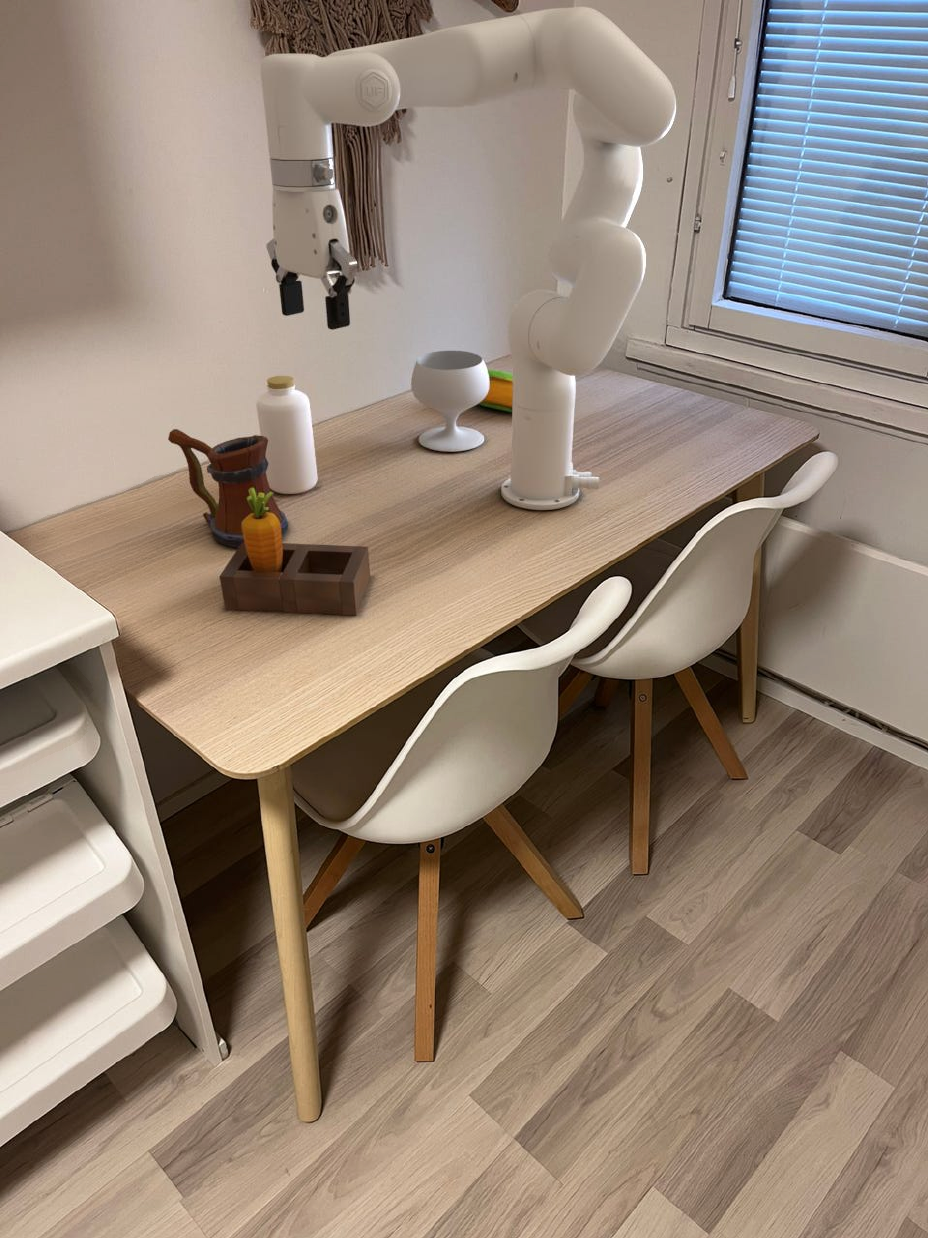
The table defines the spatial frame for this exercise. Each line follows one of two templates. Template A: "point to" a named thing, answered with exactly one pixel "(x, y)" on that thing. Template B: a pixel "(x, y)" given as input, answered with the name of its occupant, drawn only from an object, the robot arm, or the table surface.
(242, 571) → the holder
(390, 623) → the table surface
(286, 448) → the white bottle
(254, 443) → the mug
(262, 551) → the carrot
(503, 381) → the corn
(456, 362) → the chalice
